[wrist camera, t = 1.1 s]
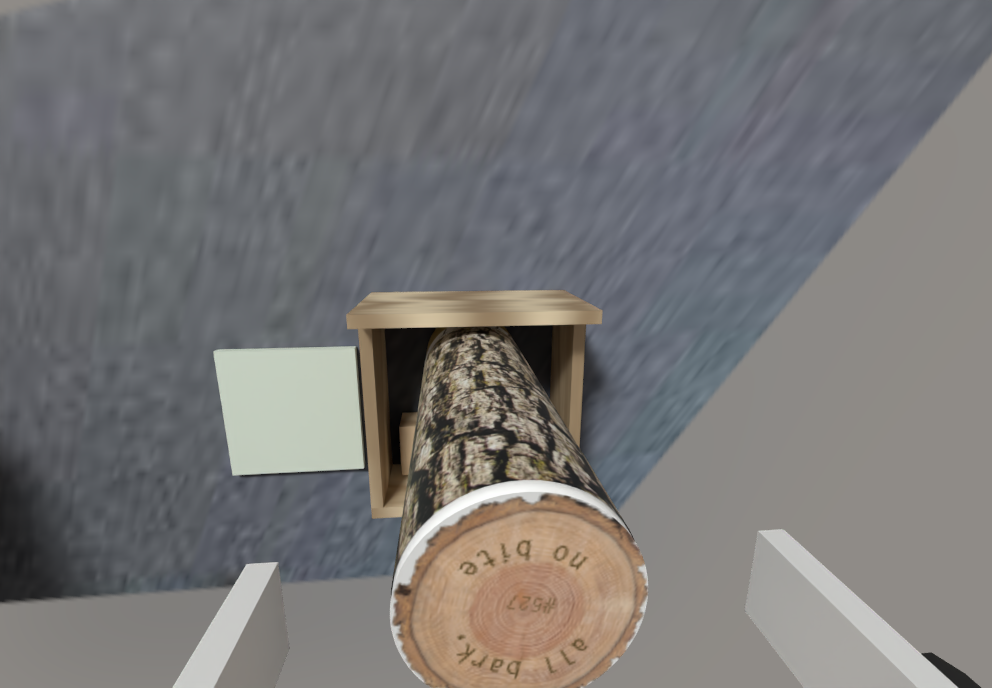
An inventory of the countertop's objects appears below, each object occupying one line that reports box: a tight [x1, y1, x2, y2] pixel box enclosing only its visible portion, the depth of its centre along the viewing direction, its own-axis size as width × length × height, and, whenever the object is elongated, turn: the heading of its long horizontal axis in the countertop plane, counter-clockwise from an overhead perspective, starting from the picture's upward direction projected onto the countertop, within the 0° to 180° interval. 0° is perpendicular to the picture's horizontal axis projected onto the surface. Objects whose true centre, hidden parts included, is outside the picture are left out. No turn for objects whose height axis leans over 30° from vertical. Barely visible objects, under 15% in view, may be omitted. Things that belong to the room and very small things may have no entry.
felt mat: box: [214, 346, 365, 475], centre depth 35 cm, size 10×10×1 cm
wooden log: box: [390, 326, 648, 688], centre depth 24 cm, size 7×7×25 cm
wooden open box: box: [346, 290, 602, 519], centre depth 32 cm, size 15×15×9 cm
